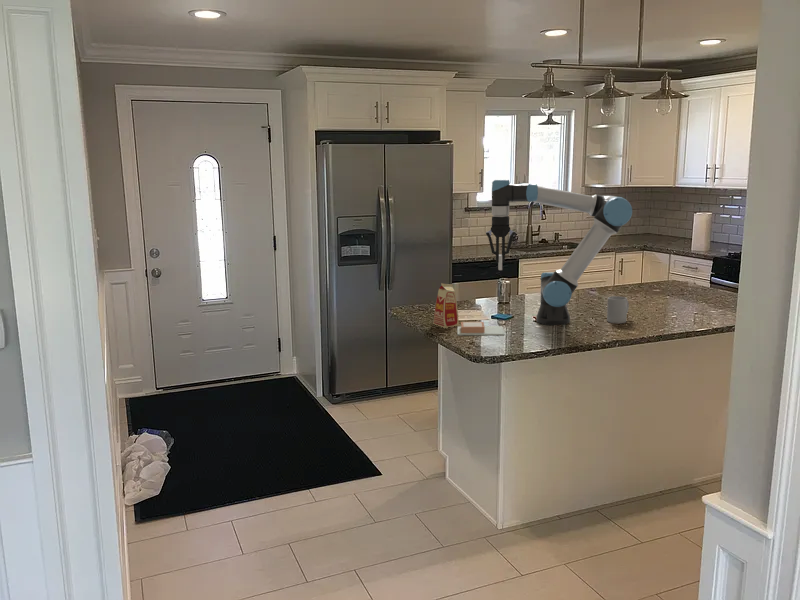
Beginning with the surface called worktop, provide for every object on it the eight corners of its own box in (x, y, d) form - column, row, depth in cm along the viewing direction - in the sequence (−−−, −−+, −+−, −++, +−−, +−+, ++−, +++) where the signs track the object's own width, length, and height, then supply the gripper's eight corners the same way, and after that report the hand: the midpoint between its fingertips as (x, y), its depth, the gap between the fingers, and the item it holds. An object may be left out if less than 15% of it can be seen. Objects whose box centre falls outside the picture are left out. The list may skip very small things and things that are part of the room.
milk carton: (445, 328, 305) (444, 284, 301) (432, 325, 313) (431, 282, 309) (460, 325, 311) (460, 282, 307) (447, 322, 318) (447, 279, 314)
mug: (618, 324, 305) (619, 300, 303) (602, 321, 312) (603, 297, 310) (635, 320, 312) (636, 297, 310) (619, 317, 319) (620, 294, 316)
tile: (483, 321, 303) (461, 321, 304) (484, 327, 293) (461, 327, 294) (483, 327, 303) (461, 327, 304) (484, 332, 293) (461, 332, 294)
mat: (502, 327, 305) (502, 326, 304) (504, 335, 291) (504, 333, 291) (457, 327, 306) (457, 326, 306) (457, 335, 293) (457, 333, 292)
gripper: (515, 214, 297) (514, 268, 302) (485, 215, 298) (485, 268, 303) (516, 216, 290) (516, 270, 294) (485, 216, 291) (485, 271, 295)
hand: (500, 269), depth 299 cm, fingers closed
